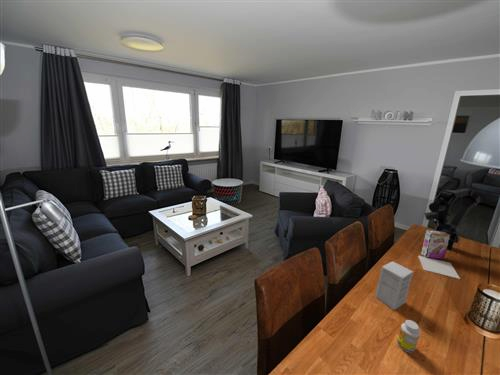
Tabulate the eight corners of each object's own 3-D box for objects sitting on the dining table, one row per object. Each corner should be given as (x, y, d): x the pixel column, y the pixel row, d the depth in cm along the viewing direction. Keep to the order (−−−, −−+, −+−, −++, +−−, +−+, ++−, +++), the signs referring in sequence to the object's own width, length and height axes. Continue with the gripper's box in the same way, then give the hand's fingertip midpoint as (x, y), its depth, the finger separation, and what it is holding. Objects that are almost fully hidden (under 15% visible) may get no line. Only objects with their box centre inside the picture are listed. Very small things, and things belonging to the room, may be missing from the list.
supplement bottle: (397, 336, 87) (404, 315, 84) (415, 345, 84) (422, 323, 81) (395, 346, 83) (401, 324, 80) (413, 356, 80) (421, 334, 77)
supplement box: (405, 303, 104) (414, 271, 99) (395, 310, 99) (404, 278, 95) (384, 289, 112) (392, 260, 107) (374, 296, 107) (381, 266, 102)
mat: (418, 256, 143) (418, 255, 142) (450, 263, 136) (450, 263, 136) (424, 270, 129) (424, 269, 129) (460, 279, 122) (460, 278, 122)
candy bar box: (425, 258, 140) (431, 232, 137) (420, 254, 145) (425, 229, 142) (445, 259, 139) (450, 234, 136) (439, 255, 144) (444, 231, 141)
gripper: (424, 203, 152) (418, 224, 157) (431, 212, 136) (425, 236, 140) (444, 206, 148) (437, 228, 152) (455, 216, 132) (447, 240, 136)
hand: (436, 233), depth 145 cm, fingers closed
